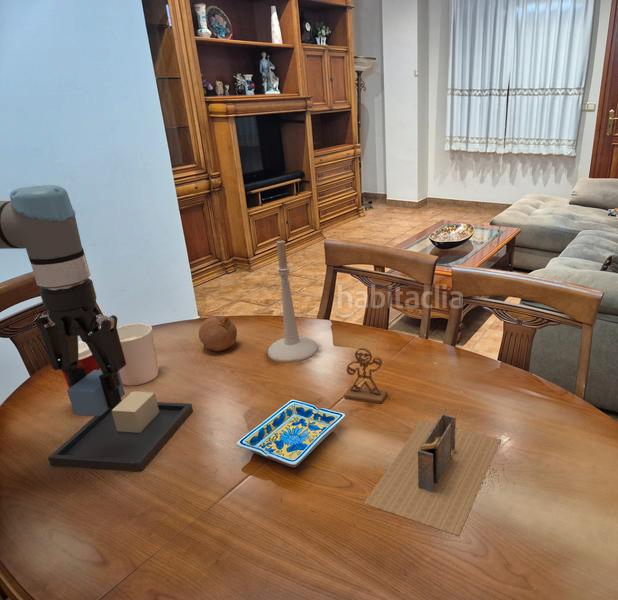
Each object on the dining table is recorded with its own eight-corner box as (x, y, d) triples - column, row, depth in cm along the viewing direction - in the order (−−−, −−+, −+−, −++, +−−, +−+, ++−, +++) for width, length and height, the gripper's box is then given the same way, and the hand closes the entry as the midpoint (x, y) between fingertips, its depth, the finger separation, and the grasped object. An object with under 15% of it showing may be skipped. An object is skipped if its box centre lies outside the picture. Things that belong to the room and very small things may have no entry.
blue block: (74, 414, 90) (66, 390, 88) (100, 392, 96) (94, 369, 94) (100, 416, 89) (93, 391, 87) (125, 394, 96) (119, 370, 94)
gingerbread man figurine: (343, 398, 113) (340, 350, 108) (350, 389, 116) (347, 341, 111) (382, 404, 110) (379, 355, 106) (387, 394, 114) (385, 346, 109)
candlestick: (271, 341, 139) (256, 234, 128) (318, 337, 141) (308, 231, 129) (264, 364, 128) (248, 248, 116) (316, 360, 129) (305, 245, 117)
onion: (236, 356, 138) (248, 327, 134) (204, 361, 131) (215, 330, 127) (220, 335, 143) (231, 306, 139) (188, 338, 136) (198, 307, 132)
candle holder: (150, 387, 119) (139, 341, 114) (109, 387, 119) (96, 341, 114) (169, 366, 128) (159, 322, 123) (130, 366, 128) (119, 323, 123)
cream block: (117, 431, 102) (111, 410, 100) (137, 411, 109) (132, 391, 107) (140, 432, 102) (134, 411, 100) (159, 412, 108) (154, 392, 106)
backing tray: (50, 465, 94) (47, 457, 93) (115, 406, 112) (113, 399, 111) (141, 471, 92) (139, 463, 91) (193, 410, 109) (191, 403, 109)
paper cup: (105, 390, 118) (89, 336, 112) (116, 403, 113) (100, 347, 107) (66, 404, 113) (48, 348, 107) (76, 418, 108) (57, 360, 102)
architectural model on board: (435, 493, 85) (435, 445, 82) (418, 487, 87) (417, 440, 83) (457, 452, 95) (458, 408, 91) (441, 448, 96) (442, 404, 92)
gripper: (130, 275, 86) (158, 394, 95) (33, 273, 88) (69, 389, 97) (100, 292, 79) (134, 417, 88) (-4, 289, 81) (39, 412, 90)
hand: (100, 402), depth 93 cm, fingers closed on blue block, 5 cm apart
